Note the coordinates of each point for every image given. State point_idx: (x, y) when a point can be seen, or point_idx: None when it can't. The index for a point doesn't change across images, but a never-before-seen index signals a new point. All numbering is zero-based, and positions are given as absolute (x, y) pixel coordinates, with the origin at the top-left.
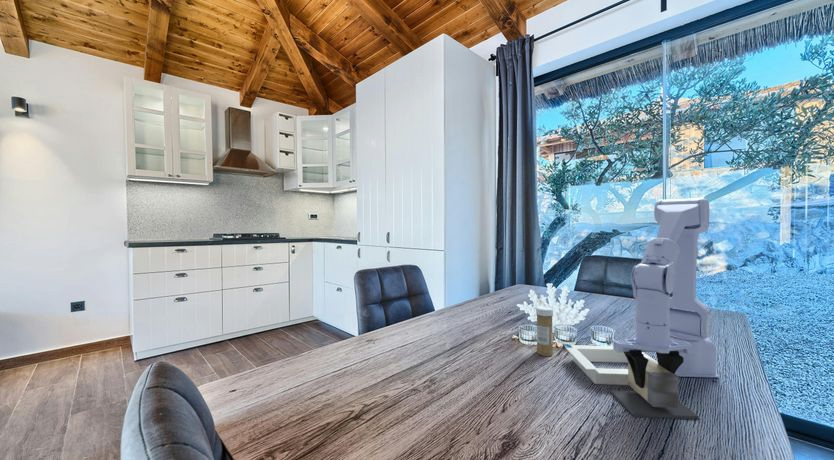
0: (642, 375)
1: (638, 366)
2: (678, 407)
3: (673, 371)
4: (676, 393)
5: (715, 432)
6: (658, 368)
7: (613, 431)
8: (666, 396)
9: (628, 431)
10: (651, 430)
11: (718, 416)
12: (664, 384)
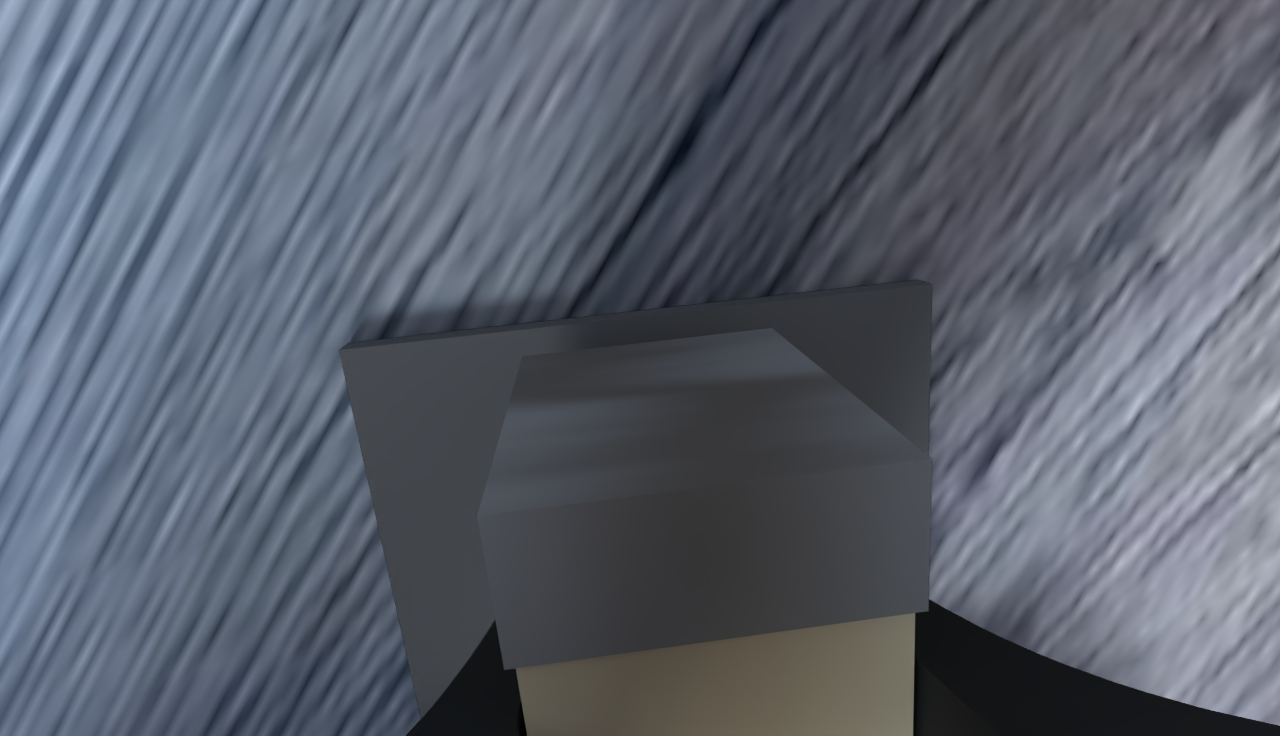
0: (918, 614)
1: (1113, 686)
2: (455, 471)
3: (443, 732)
4: (531, 402)
5: (306, 139)
6: None
7: (1223, 3)
8: (653, 376)
9: (1093, 25)
10: (880, 76)
11: (137, 424)
12: (704, 430)
